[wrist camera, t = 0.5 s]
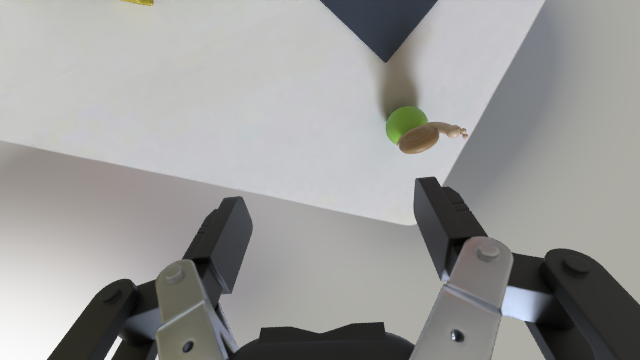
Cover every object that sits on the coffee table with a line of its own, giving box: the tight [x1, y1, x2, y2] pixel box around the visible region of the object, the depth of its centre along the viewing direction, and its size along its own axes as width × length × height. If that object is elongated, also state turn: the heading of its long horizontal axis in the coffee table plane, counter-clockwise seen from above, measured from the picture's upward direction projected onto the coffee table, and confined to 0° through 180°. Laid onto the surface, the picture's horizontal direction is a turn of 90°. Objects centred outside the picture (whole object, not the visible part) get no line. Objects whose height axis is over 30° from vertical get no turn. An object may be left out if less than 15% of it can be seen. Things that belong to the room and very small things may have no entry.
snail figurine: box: [386, 106, 468, 154], centre depth 32 cm, size 5×6×12 cm
